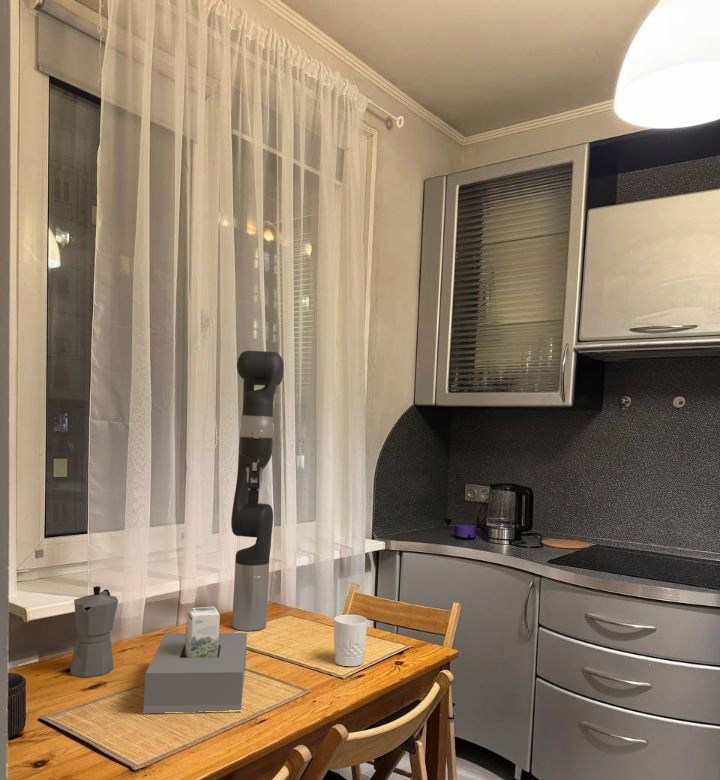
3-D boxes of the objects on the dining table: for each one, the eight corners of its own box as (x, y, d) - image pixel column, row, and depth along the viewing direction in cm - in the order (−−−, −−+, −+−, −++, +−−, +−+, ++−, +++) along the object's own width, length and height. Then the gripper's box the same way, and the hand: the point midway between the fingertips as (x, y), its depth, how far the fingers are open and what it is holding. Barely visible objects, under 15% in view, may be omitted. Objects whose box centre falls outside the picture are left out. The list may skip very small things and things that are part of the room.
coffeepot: (104, 681, 137) (110, 594, 138) (58, 681, 136) (63, 593, 137) (124, 656, 152) (129, 577, 153) (83, 655, 151) (88, 576, 152)
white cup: (339, 670, 148) (341, 625, 149) (327, 658, 156) (329, 615, 156) (371, 666, 152) (372, 622, 152) (357, 655, 159) (359, 613, 159)
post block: (163, 667, 146) (165, 633, 146) (245, 666, 148) (246, 632, 149) (143, 714, 122) (145, 673, 123) (240, 712, 125) (242, 672, 125)
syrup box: (210, 674, 139) (213, 604, 140) (216, 684, 134) (220, 612, 134) (182, 677, 137) (186, 607, 137) (188, 688, 131) (191, 614, 132)
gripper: (241, 434, 160) (238, 501, 159) (239, 435, 146) (235, 508, 145) (272, 435, 161) (269, 502, 160) (272, 436, 147) (269, 509, 146)
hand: (253, 505), depth 152 cm, fingers open, 8 cm apart
